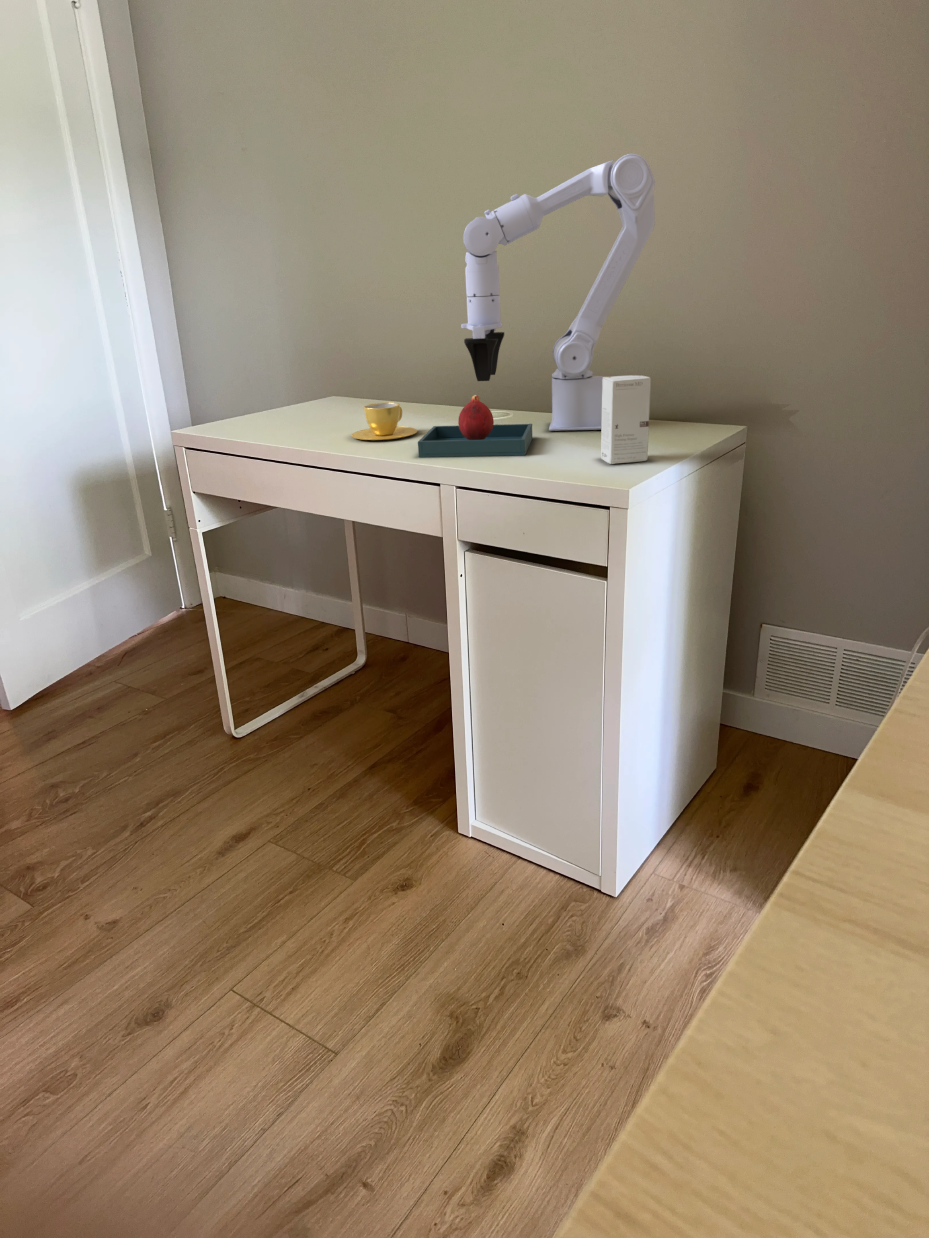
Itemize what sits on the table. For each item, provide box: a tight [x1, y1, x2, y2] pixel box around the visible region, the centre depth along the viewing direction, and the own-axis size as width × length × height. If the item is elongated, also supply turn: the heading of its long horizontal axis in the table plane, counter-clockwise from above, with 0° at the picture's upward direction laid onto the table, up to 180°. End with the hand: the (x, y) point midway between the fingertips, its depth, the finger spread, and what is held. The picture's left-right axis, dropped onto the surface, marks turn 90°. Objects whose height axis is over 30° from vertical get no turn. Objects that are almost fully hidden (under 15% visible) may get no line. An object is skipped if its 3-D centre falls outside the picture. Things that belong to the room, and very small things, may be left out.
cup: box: [351, 402, 418, 441], centre depth 155 cm, size 12×12×5 cm
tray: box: [417, 423, 533, 458], centre depth 141 cm, size 17×13×2 cm
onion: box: [457, 394, 495, 440], centre depth 140 cm, size 6×6×8 cm
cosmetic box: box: [600, 374, 652, 465], centre depth 125 cm, size 6×4×12 cm
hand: (486, 377), depth 151 cm, fingers open, 7 cm apart
